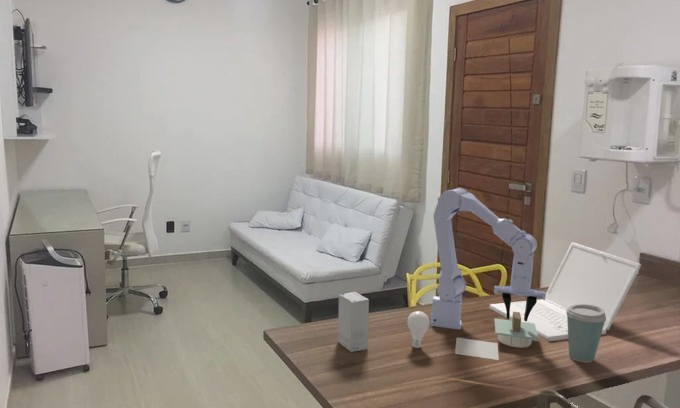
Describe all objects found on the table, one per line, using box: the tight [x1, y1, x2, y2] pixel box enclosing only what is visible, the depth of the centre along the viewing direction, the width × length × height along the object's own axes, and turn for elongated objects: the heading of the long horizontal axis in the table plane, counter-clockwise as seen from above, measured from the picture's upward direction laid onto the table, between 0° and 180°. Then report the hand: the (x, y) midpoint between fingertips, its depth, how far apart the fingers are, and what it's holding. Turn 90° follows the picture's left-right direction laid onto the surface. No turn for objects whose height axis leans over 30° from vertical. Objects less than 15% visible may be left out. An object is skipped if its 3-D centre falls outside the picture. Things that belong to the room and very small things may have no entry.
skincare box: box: [337, 291, 370, 353], centre depth 162 cm, size 8×6×15 cm
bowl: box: [497, 335, 533, 348], centre depth 172 cm, size 10×10×4 cm
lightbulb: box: [406, 310, 431, 349], centre depth 163 cm, size 6×6×11 cm
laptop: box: [488, 241, 642, 342], centre depth 192 cm, size 30×35×23 cm
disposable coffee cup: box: [566, 304, 606, 364], centre depth 162 cm, size 11×11×15 cm
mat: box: [454, 337, 500, 361], centre depth 165 cm, size 12×12×1 cm
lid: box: [494, 312, 539, 341], centre depth 171 cm, size 12×12×5 cm
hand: (516, 318), depth 171 cm, fingers open, 4 cm apart
